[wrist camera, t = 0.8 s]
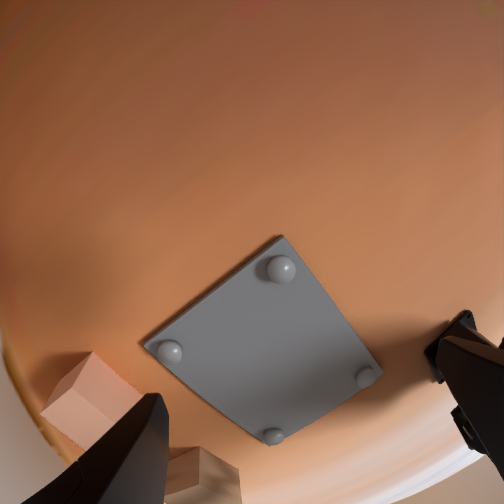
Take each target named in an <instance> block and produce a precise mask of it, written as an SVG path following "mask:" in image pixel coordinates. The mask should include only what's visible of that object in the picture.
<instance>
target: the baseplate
mask: <svg viewBox="0 0 504 504" xmlns="http://www.w3.org/2000/svg"><path fill="white" fill-rule="evenodd" d="M143 346H144V347H145V348H146V349H147V350H148V351H149V352H150V353H151V354H152V355H153V356H154V357H155V358H156V359H158V360H159V361H160V362H161V363H162V364H163V365H164V366H165V367H166V368H168V369H169V370H170V371H171V372H172V373H173V374H174V375H176V376H177V377H178V378H179V379H180V380H181V381H183V382H184V383H185V384H186V385H187V386H189V387H190V388H191V389H192V390H193V391H195V392H196V393H197V394H198V395H200V396H201V397H202V398H203V399H205V400H206V401H207V402H208V403H210V404H211V405H212V406H213V407H215V408H216V409H217V410H219V411H220V412H221V413H223V414H224V415H225V416H227V417H228V418H229V419H231V420H232V421H233V422H235V423H236V424H237V425H239V426H240V427H242V428H243V429H244V430H246V431H247V432H249V433H250V434H252V435H253V436H255V437H256V438H257V439H259V440H260V441H262V442H263V443H265V444H266V445H268V446H271V445H277V444H279V443H281V442H282V441H283V440H284V438H286V437H288V436H290V435H292V434H293V433H295V432H297V431H299V430H300V429H302V428H304V427H305V426H307V425H309V424H310V423H312V422H314V421H315V420H317V419H319V418H320V417H322V416H323V415H325V414H327V413H328V412H330V411H331V410H333V409H334V408H336V407H337V406H339V405H340V404H342V403H343V402H345V401H346V400H348V399H349V398H351V397H352V396H354V395H355V394H356V393H358V392H359V391H361V390H362V389H363V388H367V387H370V386H371V385H373V384H374V383H375V381H376V379H377V378H378V377H380V376H381V375H382V374H384V372H383V371H382V369H381V368H380V367H379V365H378V364H377V362H376V361H375V359H374V358H373V357H372V355H371V354H370V352H369V351H368V349H367V348H366V347H365V345H364V344H363V342H362V341H361V340H360V338H359V337H358V335H357V334H356V333H355V331H354V330H353V328H352V327H351V326H350V324H349V323H348V321H347V320H346V319H345V317H344V316H343V314H342V313H341V312H340V310H339V309H338V308H337V306H336V305H335V303H334V302H333V301H332V299H331V298H330V297H329V295H328V294H327V293H326V291H325V290H324V288H323V287H322V286H321V284H320V283H319V282H318V280H317V279H316V278H315V276H314V275H313V274H312V272H311V271H310V270H309V268H308V267H307V266H306V264H305V263H304V262H303V260H302V259H301V258H300V256H299V255H298V254H297V252H296V251H295V250H294V248H293V247H292V246H291V244H290V243H289V242H288V241H287V239H286V238H285V237H284V236H283V235H282V236H280V237H279V238H278V239H277V240H275V241H274V242H273V243H271V244H270V245H269V246H268V247H266V248H265V249H264V250H262V251H261V252H260V253H259V254H257V255H256V256H255V257H253V258H252V259H251V260H250V261H248V262H247V263H246V264H244V265H243V266H242V267H241V268H239V269H238V270H237V271H235V272H234V273H233V274H232V275H230V276H229V277H228V278H226V279H225V280H224V281H223V282H221V283H220V284H219V285H217V286H216V287H215V288H214V289H212V290H211V291H210V292H208V293H207V294H206V295H205V296H203V297H202V298H201V299H199V300H198V301H197V302H196V303H194V304H193V305H192V306H190V307H189V308H188V309H186V310H185V311H184V312H183V313H181V314H180V315H179V316H177V317H176V318H175V319H174V320H172V321H171V322H170V323H168V324H167V325H166V326H164V327H163V328H162V329H161V330H159V331H158V332H157V333H155V334H154V335H153V336H152V337H150V338H149V339H148V340H146V341H145V342H144V345H143Z"/></svg>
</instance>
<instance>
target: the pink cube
mask: <svg viewBox="0 0 504 504" xmlns="http://www.w3.org/2000/svg"><path fill="white" fill-rule="evenodd" d="M142 397H143V395H141V394H140V393H139V392H138V391H137V390H135V389H134V388H133V387H132V386H131V385H129V384H128V383H127V382H126V381H125V380H124V379H122V378H121V377H120V376H119V375H118V374H117V373H116V372H114V371H113V370H112V369H111V368H110V367H109V366H108V365H107V364H106V363H105V362H104V361H102V360H101V359H100V358H99V357H98V356H97V355H96V354H95V353H94V352H92V353H90V354H89V355H88V356H87V357H86V358H85V359H84V360H82V361H81V362H80V363H79V364H78V365H77V366H76V367H74V368H73V369H72V370H71V371H70V372H69V373H68V374H66V375H65V376H64V377H63V378H62V379H61V380H60V381H59V382H58V384H57V386H56V387H55V389H54V391H53V392H52V394H51V395H50V397H49V399H48V400H47V402H46V404H45V405H44V407H43V409H42V411H41V412H40V415H42V416H43V417H44V418H45V419H46V420H47V421H49V422H50V423H51V424H52V425H53V426H55V427H56V428H57V429H58V430H59V431H61V432H62V433H63V434H64V435H66V436H67V437H68V438H70V439H71V440H72V441H74V442H75V443H76V444H78V445H79V446H80V447H82V448H83V449H84V450H86V451H87V450H88V449H89V448H90V447H91V446H92V445H93V444H94V443H95V442H96V441H97V440H99V439H100V438H101V437H102V436H103V435H104V434H105V433H106V432H107V431H108V430H109V429H110V428H111V427H112V426H113V425H114V424H115V423H116V422H117V421H118V420H119V419H120V418H121V417H123V416H124V415H125V414H126V413H127V412H128V411H129V410H130V409H131V408H132V407H133V406H134V405H135V404H136V403H137V402H138V401H139V400H140V399H141V398H142Z"/></svg>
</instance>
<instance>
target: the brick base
mask: <svg viewBox="0 0 504 504" xmlns="http://www.w3.org/2000/svg"><path fill="white" fill-rule="evenodd" d="M164 503H167V504H242V499H241V490H240V480H239V469H237V468H235V467H233V466H232V465H230V464H228V463H226V462H225V461H223V460H221V459H220V458H218V457H216V456H215V455H213V454H211V453H210V452H208V451H207V450H205V449H203V448H202V447H200V446H199V447H197V448H195V449H193V450H191V451H189V452H187V453H184V454H182V455H180V456H178V457H175V458H173V459H171V460H169V461H168V470H167V479H166V487H165V496H164Z"/></svg>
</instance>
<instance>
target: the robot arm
mask: <svg viewBox="0 0 504 504" xmlns="http://www.w3.org/2000/svg"><path fill="white" fill-rule="evenodd" d="M424 355H425V357H426V359H427V361H428V364H429V366H430V368H431V370H432V372H433V374H434V376H435V379H436V381H437V382H438V383H439V384H442V383H443V382H444V381H446V383H447V385H448V387H449V389H450V391H451V393H452V395H453V397H454V398H455V400H456V402H457V403H458V405H457V407H456V408H454V409H453V410H452V411H451V415H452V417H453V418H454V419H453V420H454V422H455V423H456V425H457V427H458V429H459V431H460V432H461V434H462V436H463V438H464V440H465V442H466V443H467V445H468V448H469V449H471V450H476V451H477V452H479V453H481V454H487V456H488V457H489V458H490V459H491V461H492V462H493V463H494V465H495V466H496V468H497V470H498V472H499V473H500V475H501V477H502V479H503V481H504V337H503V339H502V342H501V344H500V345H499V347H497V346H496V345H494V344H493V343H492V342H490V341H489V340H488V339H486V338H485V337H484V336H483V335H481V334H480V333H479V332H477V329H476V325H475V321H474V318H473V314H472V312H471V311H470V310H467V311H465V312H464V313H463V314H462V316H461V317H460V318H459V319H458V320H457V321H456V322H455V323H453V324H452V325H451V326H450V327H449V328H448V329H447V330H446V331H445V332H444V333H443V334H442V335H441V336H440V337H439V338H438V339H437V340H436V341H435V342H433V343H432V344H431V345H430V346H429V347H428V348H427V349H426V350H425V352H424ZM168 461H169V415H168V411H167V408H166V406H165V403H164V401H163V398H162V396H161V394H160V393H147V394H145V395H144V396H143V397H142V398H141V399H140V400H139V401H138V402H137V403H136V404H135V405H134V406H133V407H132V408H131V409H130V410H129V411H128V412H127V413H126V414H125V415H124V416H123V417H121V418H120V419H119V420H118V421H117V422H116V423H115V424H114V425H113V426H112V427H111V428H110V429H109V430H108V431H107V432H106V433H105V434H104V435H103V436H102V437H101V438H100V439H99V440H97V441H96V442H95V443H94V444H93V445H92V446H91V447H90V448H89V449H88V450H87V451H86V452H85V453H84V454H83V455H82V456H80V457H79V458H78V460H77V461H75V462H74V463H73V464H72V465H71V466H70V467H69V468H67V469H66V470H65V471H64V472H63V473H62V474H61V475H59V476H58V477H57V478H56V479H55V480H53V481H52V482H51V483H49V484H48V485H47V486H45V487H44V488H42V489H41V490H40V491H38V492H37V493H35V494H34V495H33V496H31V497H30V498H28V499H27V500H25V501H24V502H22V503H21V504H164V496H165V487H166V479H167V470H168Z"/></svg>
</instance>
